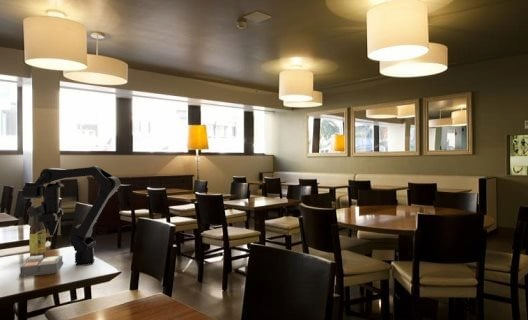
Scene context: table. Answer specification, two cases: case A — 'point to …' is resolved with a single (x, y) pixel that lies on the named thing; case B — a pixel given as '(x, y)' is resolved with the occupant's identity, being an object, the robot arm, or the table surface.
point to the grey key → (35, 258)
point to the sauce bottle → (37, 237)
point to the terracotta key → (31, 264)
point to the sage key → (54, 257)
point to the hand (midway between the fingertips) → (51, 235)
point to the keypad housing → (41, 268)
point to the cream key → (49, 261)
